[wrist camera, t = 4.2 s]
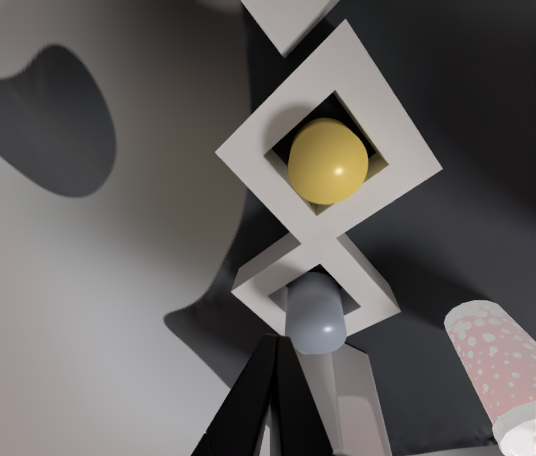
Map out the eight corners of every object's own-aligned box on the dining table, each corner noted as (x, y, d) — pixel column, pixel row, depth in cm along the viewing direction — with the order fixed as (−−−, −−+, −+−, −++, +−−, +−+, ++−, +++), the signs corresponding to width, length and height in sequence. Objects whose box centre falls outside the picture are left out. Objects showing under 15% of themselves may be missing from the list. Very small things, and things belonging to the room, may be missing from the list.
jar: (286, 331, 26) (275, 496, 16) (372, 337, 25) (421, 517, 15) (286, 386, 30) (277, 544, 20) (360, 393, 29) (391, 563, 19)
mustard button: (329, 102, 16) (336, 107, 12) (367, 154, 17) (384, 172, 13) (278, 148, 17) (272, 164, 14) (316, 192, 18) (319, 218, 15)
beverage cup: (422, 311, 23) (557, 567, 11) (500, 281, 21) (784, 564, 9) (450, 352, 25) (593, 609, 13) (525, 328, 23) (786, 616, 10)
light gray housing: (323, 208, 20) (326, 227, 17) (389, 284, 22) (400, 311, 19) (239, 268, 23) (230, 291, 21) (304, 328, 26) (304, 356, 23)
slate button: (318, 263, 20) (321, 302, 16) (349, 296, 21) (359, 339, 17) (277, 288, 21) (272, 328, 18) (308, 318, 22) (310, 361, 19)
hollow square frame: (338, 30, 15) (345, 18, 12) (421, 155, 17) (442, 168, 14) (227, 142, 18) (214, 152, 15) (310, 232, 21) (310, 253, 18)
